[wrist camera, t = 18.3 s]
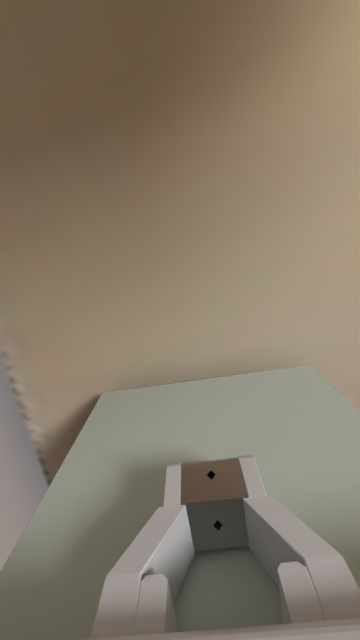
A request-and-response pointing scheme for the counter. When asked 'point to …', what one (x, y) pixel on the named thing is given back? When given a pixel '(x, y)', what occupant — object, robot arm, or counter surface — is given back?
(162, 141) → the counter surface
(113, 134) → the counter surface
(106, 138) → the counter surface
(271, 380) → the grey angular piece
